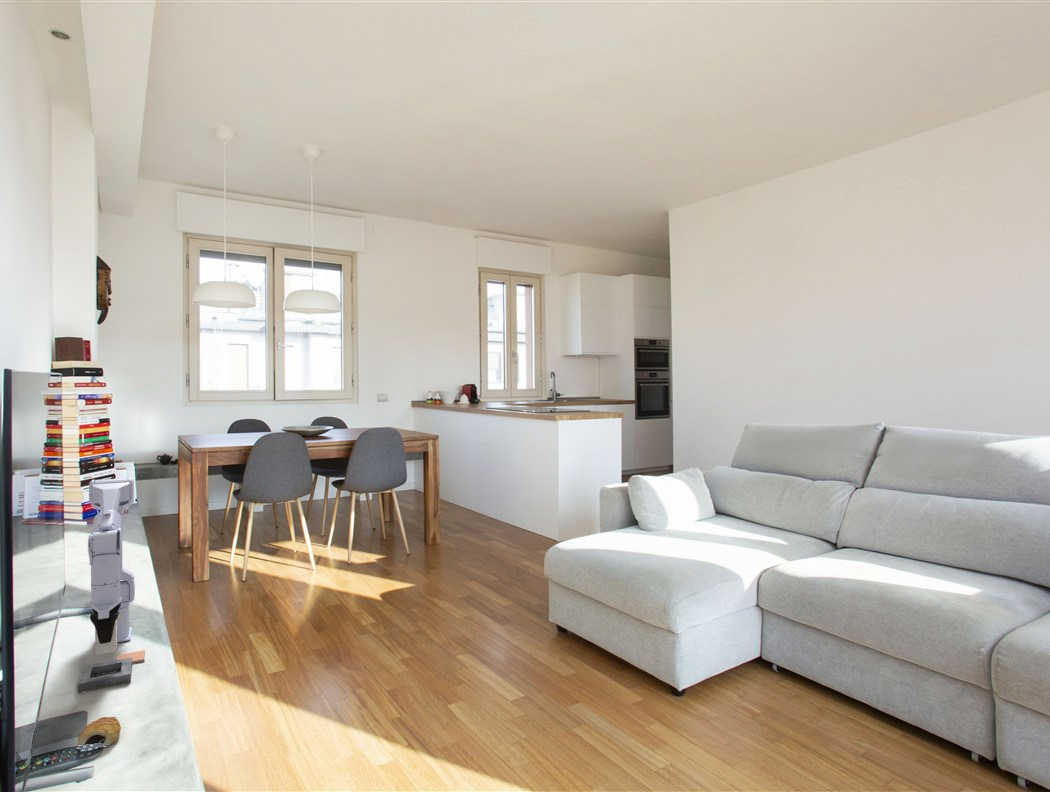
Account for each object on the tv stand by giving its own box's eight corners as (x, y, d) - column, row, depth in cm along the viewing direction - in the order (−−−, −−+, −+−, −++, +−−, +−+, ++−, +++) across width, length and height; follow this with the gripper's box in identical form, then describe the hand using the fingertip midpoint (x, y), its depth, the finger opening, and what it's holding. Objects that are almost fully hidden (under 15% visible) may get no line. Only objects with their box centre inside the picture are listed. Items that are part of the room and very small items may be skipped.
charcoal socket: (82, 674, 149) (82, 666, 149) (132, 665, 154) (132, 657, 154) (78, 692, 140) (77, 684, 140) (130, 682, 145) (130, 673, 145)
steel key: (120, 644, 150) (119, 613, 150) (119, 650, 146) (118, 618, 146) (93, 648, 147) (93, 617, 147) (92, 655, 144) (91, 622, 144)
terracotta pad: (117, 657, 158) (117, 655, 158) (144, 652, 161) (144, 650, 161) (115, 666, 153) (115, 664, 153) (144, 661, 156) (144, 659, 156)
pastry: (87, 729, 126) (87, 711, 126) (126, 723, 128) (126, 704, 128) (74, 755, 117) (74, 735, 117) (116, 748, 120) (116, 728, 120)
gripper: (88, 575, 151) (88, 631, 151) (81, 593, 138) (82, 654, 139) (122, 571, 154) (123, 625, 155) (119, 588, 142) (119, 647, 142)
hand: (106, 639), depth 147 cm, fingers closed on steel key, 4 cm apart
